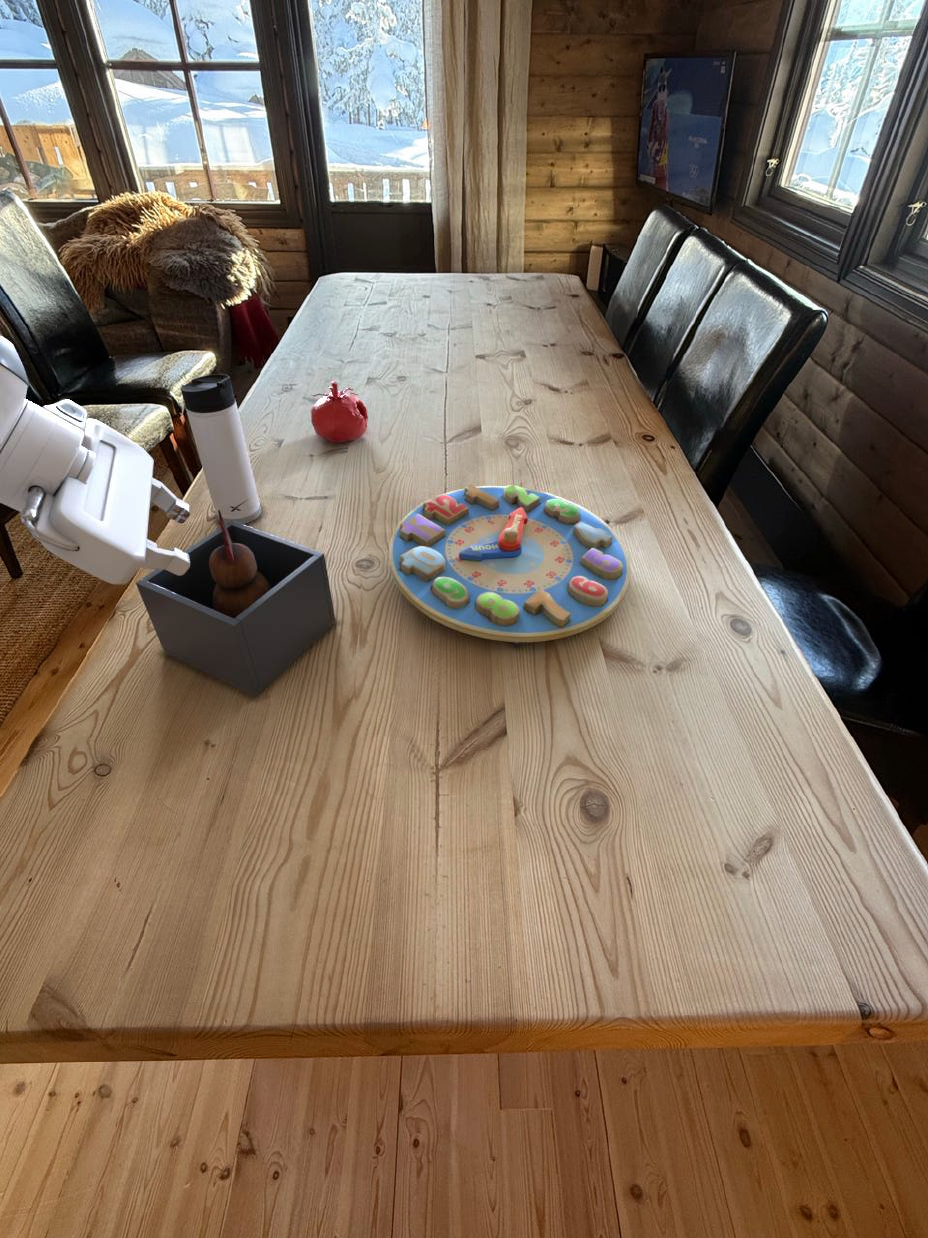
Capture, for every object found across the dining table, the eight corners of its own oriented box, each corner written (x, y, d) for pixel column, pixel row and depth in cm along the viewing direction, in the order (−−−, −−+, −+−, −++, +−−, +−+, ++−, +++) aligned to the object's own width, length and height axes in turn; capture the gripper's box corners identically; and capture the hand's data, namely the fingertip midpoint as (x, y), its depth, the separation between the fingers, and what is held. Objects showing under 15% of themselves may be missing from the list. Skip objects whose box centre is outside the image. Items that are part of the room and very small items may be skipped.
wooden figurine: (235, 611, 78) (202, 501, 68) (284, 613, 77) (258, 502, 68) (217, 651, 72) (178, 538, 63) (269, 653, 72) (238, 539, 62)
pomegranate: (325, 453, 110) (317, 399, 104) (304, 430, 116) (296, 378, 110) (379, 440, 114) (374, 387, 108) (356, 418, 120) (350, 367, 114)
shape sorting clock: (527, 693, 69) (531, 652, 65) (341, 575, 85) (335, 536, 81) (673, 565, 86) (682, 527, 82) (495, 486, 102) (497, 450, 98)
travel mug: (248, 529, 93) (212, 390, 79) (208, 521, 94) (166, 383, 81) (271, 507, 97) (241, 372, 84) (233, 500, 99) (198, 366, 86)
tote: (255, 697, 69) (233, 625, 62) (164, 653, 74) (135, 582, 67) (336, 622, 78) (324, 553, 71) (249, 587, 83) (231, 519, 76)
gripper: (36, 496, 49) (206, 578, 57) (71, 392, 63) (203, 469, 72) (-4, 556, 51) (167, 626, 59) (40, 441, 65) (171, 511, 74)
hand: (187, 539), depth 66 cm, fingers open, 8 cm apart
